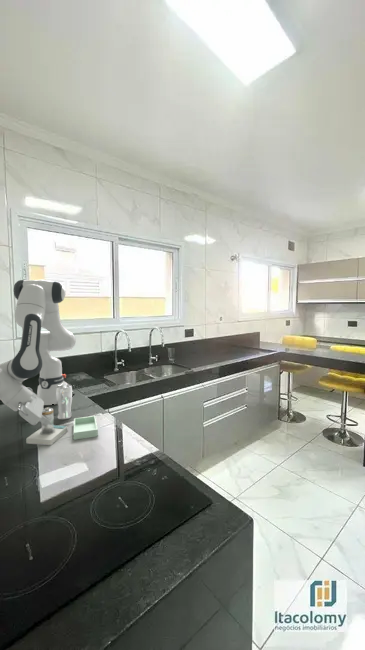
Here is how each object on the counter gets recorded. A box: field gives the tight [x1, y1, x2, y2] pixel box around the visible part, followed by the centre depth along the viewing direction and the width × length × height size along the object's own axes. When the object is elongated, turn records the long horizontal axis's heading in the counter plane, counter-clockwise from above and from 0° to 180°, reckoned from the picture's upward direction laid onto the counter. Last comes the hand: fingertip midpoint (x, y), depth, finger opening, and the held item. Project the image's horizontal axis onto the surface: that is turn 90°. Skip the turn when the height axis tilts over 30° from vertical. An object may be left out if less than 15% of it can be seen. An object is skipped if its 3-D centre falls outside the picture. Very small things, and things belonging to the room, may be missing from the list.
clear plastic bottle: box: [56, 383, 73, 421], centre depth 132 cm, size 7×7×15 cm
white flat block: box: [25, 424, 68, 446], centre depth 112 cm, size 12×10×2 cm
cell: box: [40, 406, 55, 434], centre depth 111 cm, size 4×4×10 cm
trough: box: [72, 415, 99, 441], centre depth 118 cm, size 15×9×3 cm, turn 21°
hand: (49, 420), depth 112 cm, fingers closed on cell, 4 cm apart
